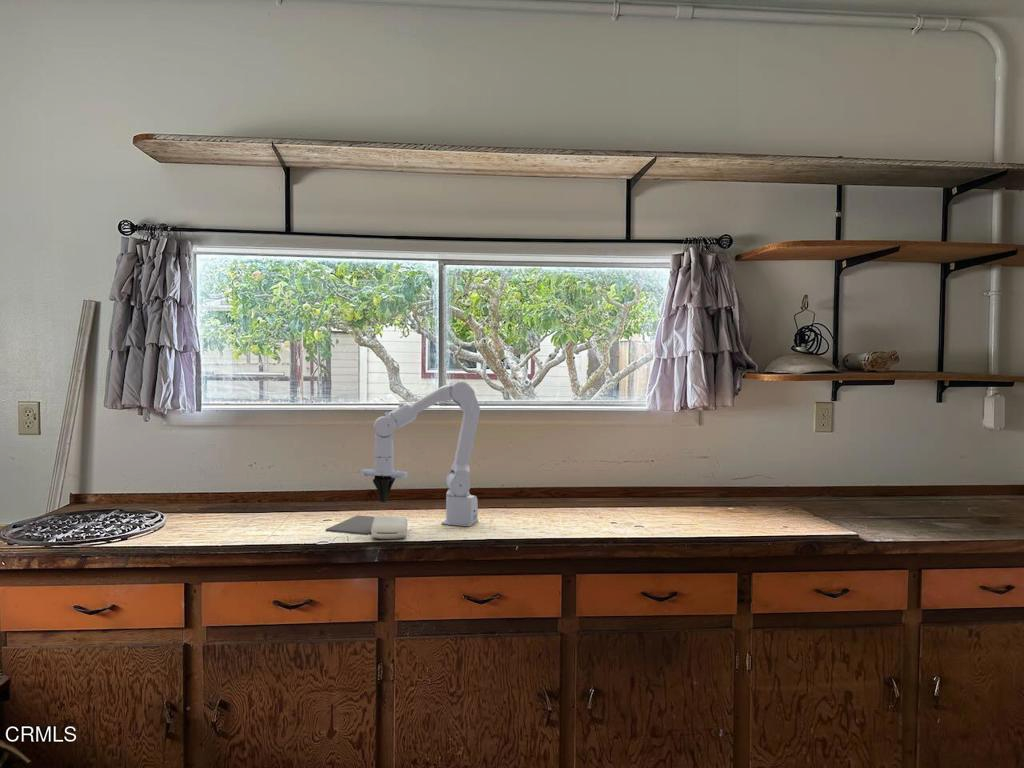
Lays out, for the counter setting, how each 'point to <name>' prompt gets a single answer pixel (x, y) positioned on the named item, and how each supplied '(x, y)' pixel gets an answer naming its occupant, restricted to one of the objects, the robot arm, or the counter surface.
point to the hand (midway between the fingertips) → (384, 501)
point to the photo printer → (389, 527)
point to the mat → (354, 525)
